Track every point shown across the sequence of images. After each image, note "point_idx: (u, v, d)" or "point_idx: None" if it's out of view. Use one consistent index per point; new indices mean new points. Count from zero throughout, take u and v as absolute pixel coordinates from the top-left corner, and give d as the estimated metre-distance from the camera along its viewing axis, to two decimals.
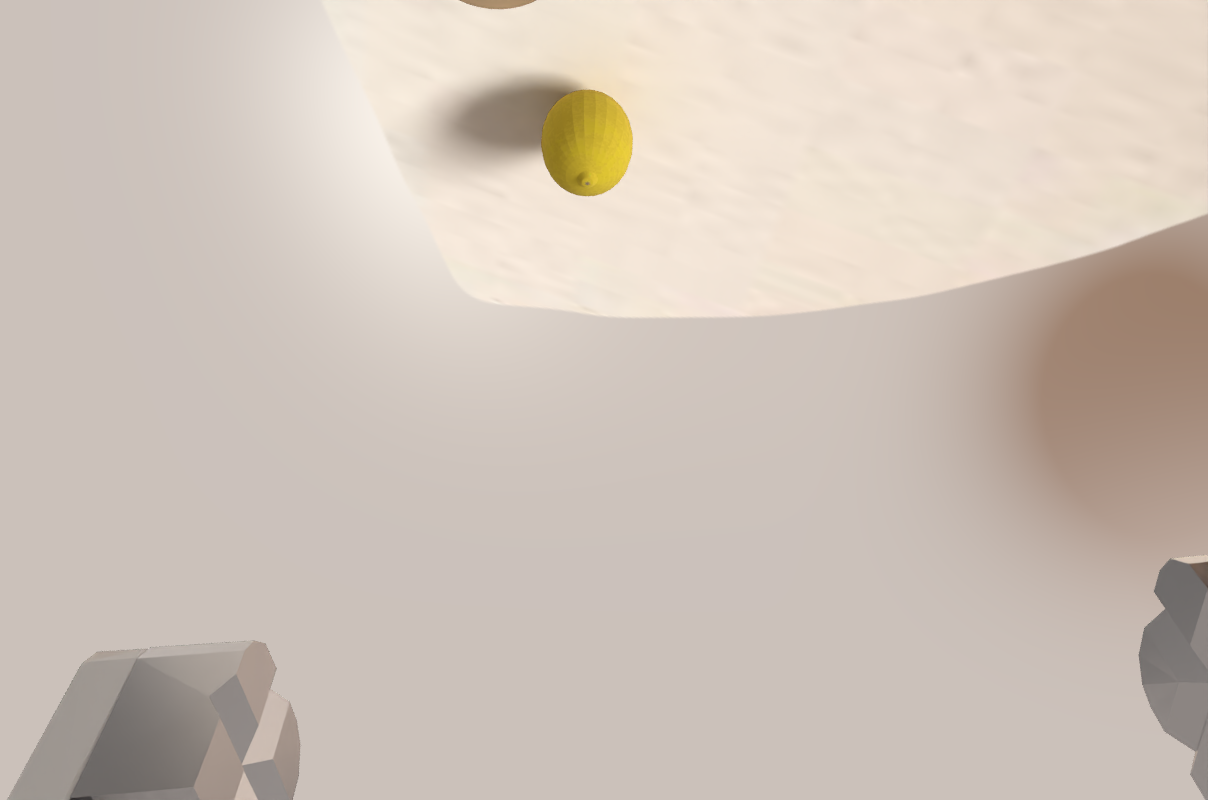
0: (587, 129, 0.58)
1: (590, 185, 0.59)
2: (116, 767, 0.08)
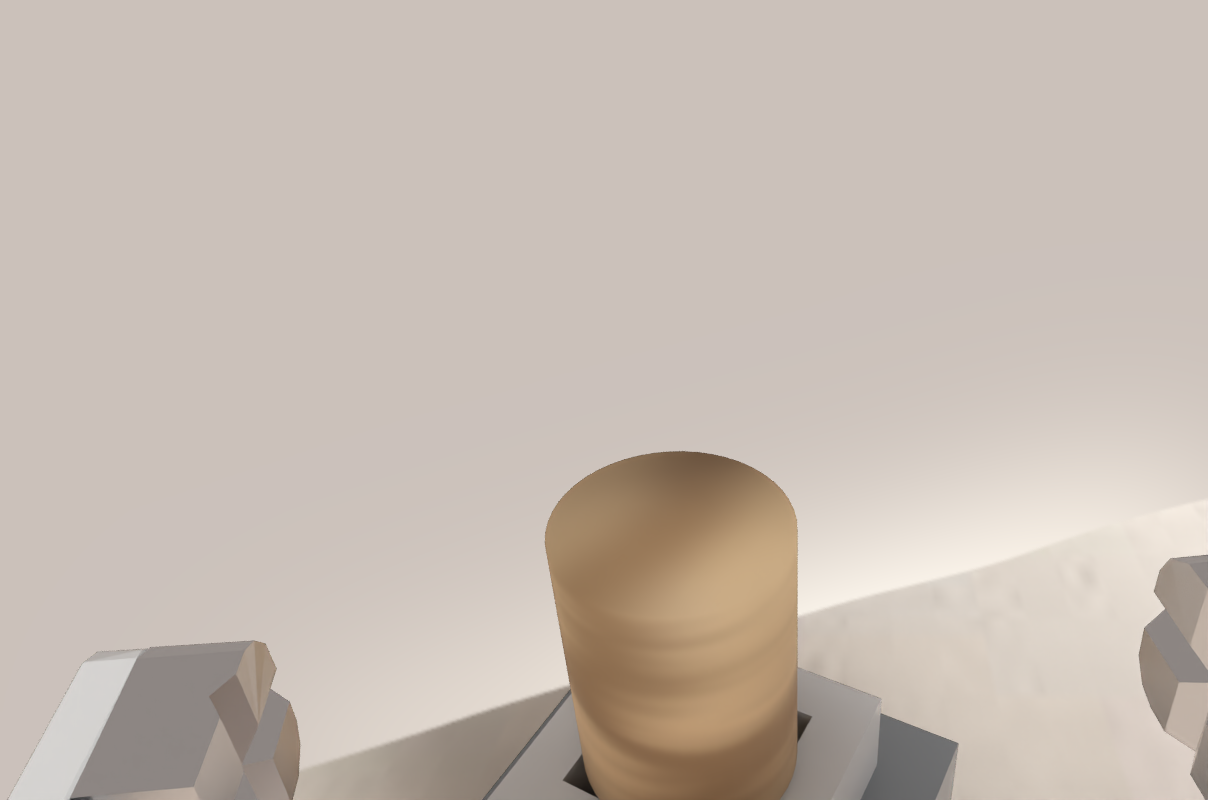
0: None
1: None
2: (117, 767, 0.08)
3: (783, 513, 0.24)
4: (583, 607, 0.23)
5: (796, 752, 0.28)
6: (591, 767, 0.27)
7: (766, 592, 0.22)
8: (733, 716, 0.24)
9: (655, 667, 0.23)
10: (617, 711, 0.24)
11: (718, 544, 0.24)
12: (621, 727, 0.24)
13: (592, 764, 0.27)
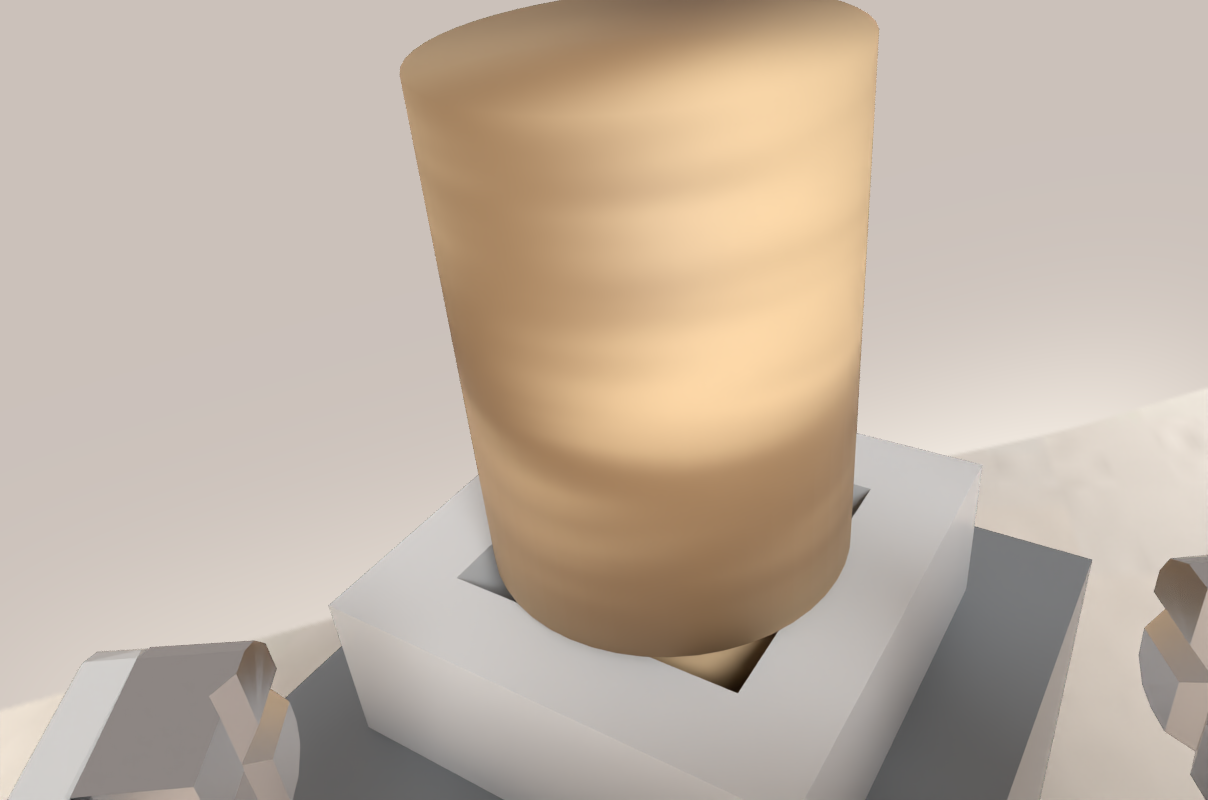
0: None
1: None
2: (117, 767, 0.08)
3: (849, 17, 0.13)
4: (456, 134, 0.11)
5: (850, 527, 0.16)
6: (499, 537, 0.16)
7: (824, 95, 0.11)
8: (749, 387, 0.12)
9: (597, 253, 0.11)
10: (530, 383, 0.13)
11: (727, 47, 0.12)
12: (540, 419, 0.13)
13: (499, 529, 0.15)
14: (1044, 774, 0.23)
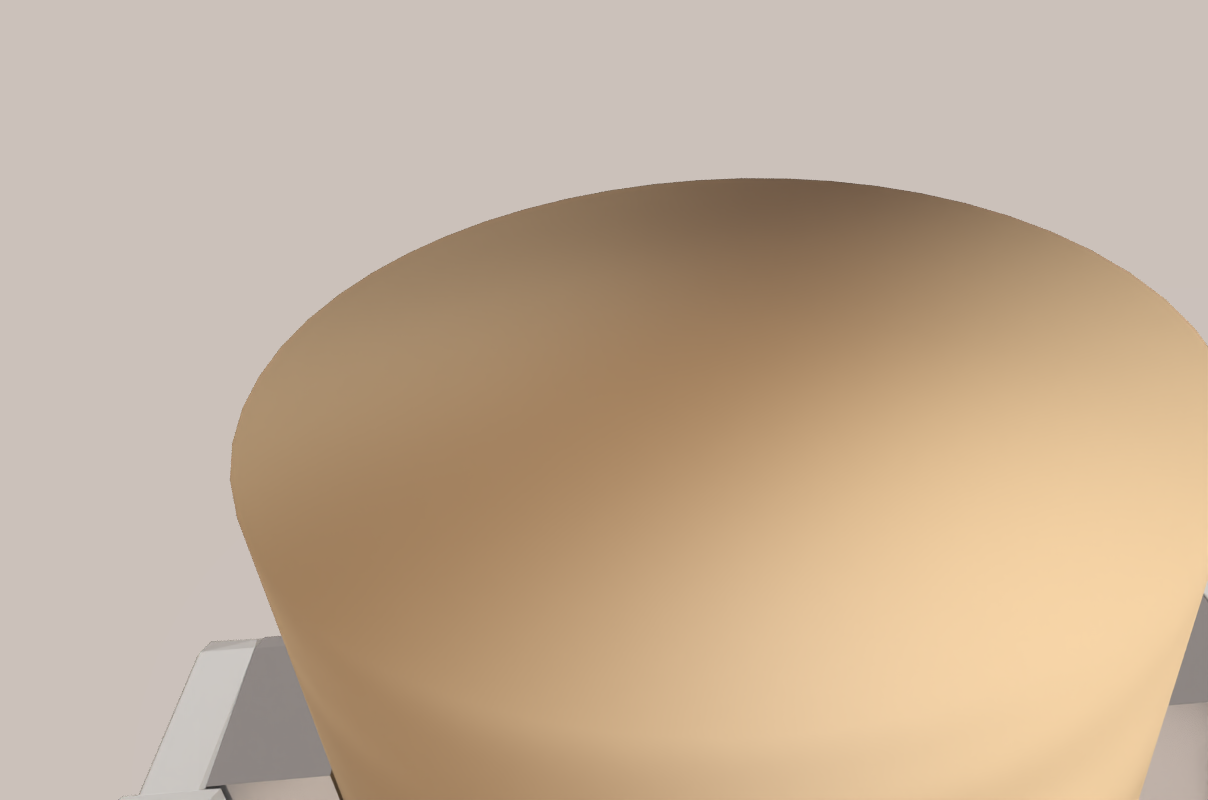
0: None
1: None
2: (249, 756, 0.08)
3: (1131, 310, 0.07)
4: (322, 663, 0.05)
5: None
6: None
7: (1178, 605, 0.05)
8: None
9: None
10: None
11: (907, 406, 0.06)
12: None
13: None
14: None
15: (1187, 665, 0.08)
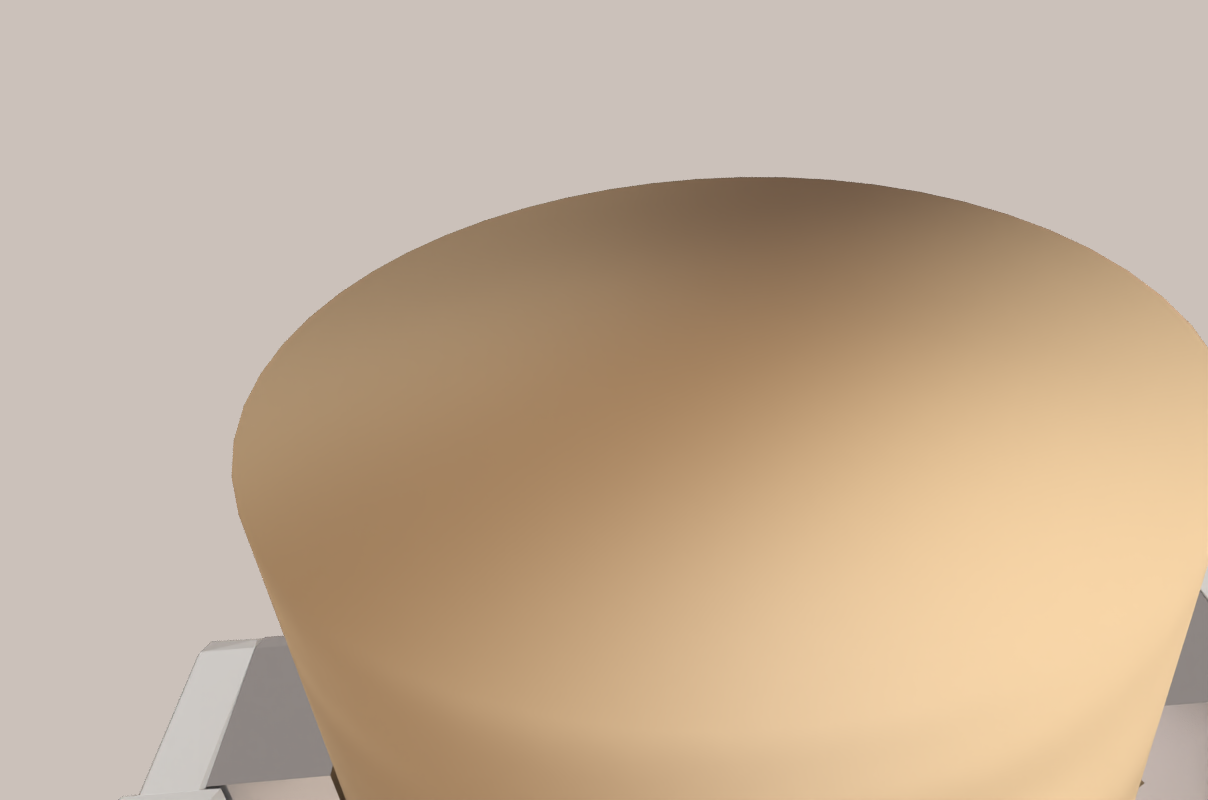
0: None
1: None
2: (250, 757, 0.08)
3: (1128, 308, 0.07)
4: (324, 659, 0.05)
5: None
6: None
7: (1174, 602, 0.05)
8: None
9: None
10: None
11: (904, 403, 0.06)
12: None
13: None
14: None
15: (1187, 665, 0.08)
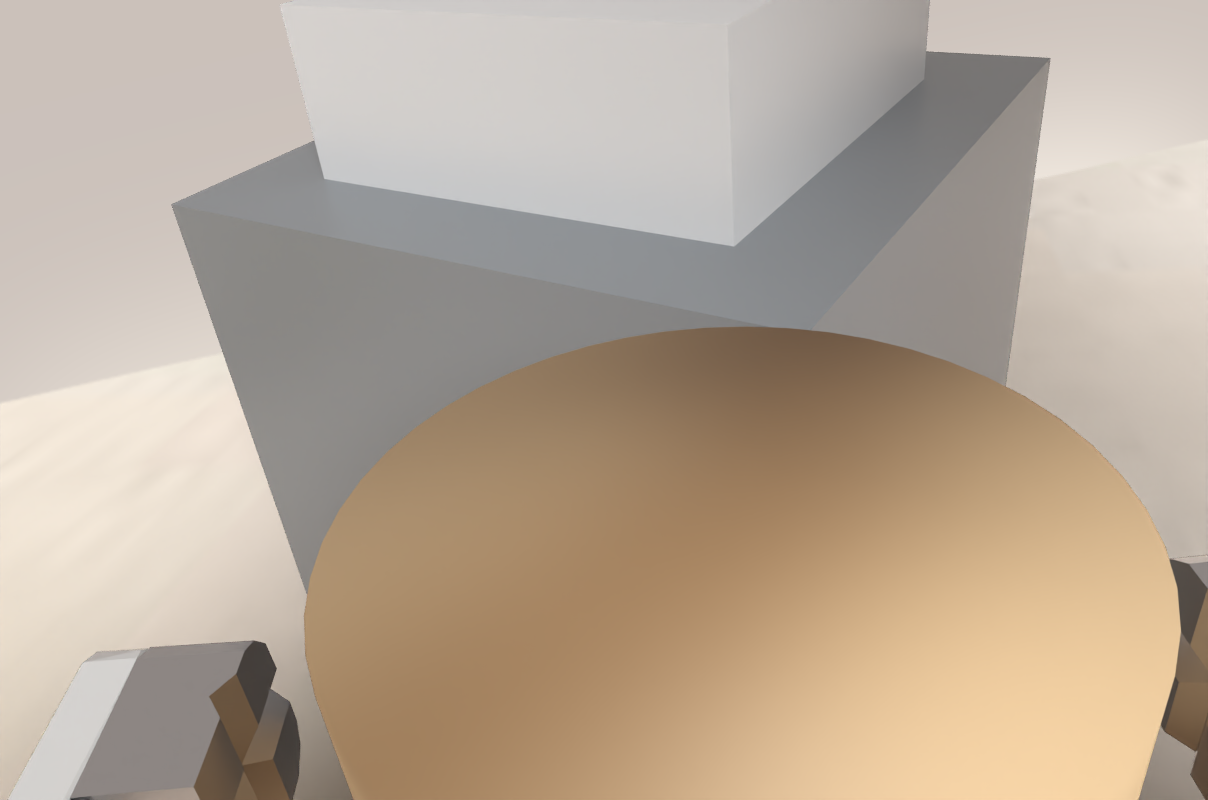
0: None
1: None
2: (117, 767, 0.08)
3: (1092, 489, 0.07)
4: None
5: None
6: None
7: (1119, 794, 0.06)
8: None
9: None
10: None
11: (893, 590, 0.07)
12: None
13: None
14: (1009, 342, 0.23)
15: None
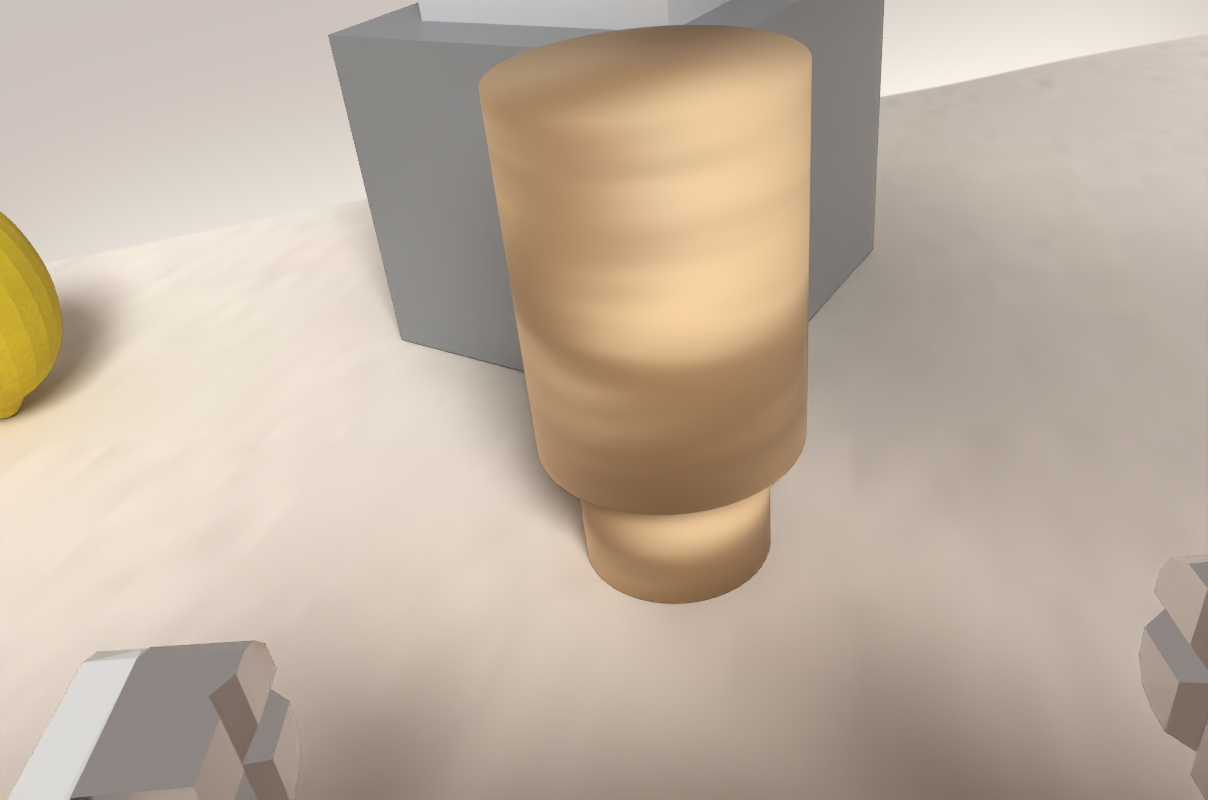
0: (1, 233, 0.30)
1: None
2: (117, 767, 0.08)
3: (793, 50, 0.18)
4: (522, 133, 0.17)
5: (805, 427, 0.22)
6: (543, 432, 0.21)
7: (770, 104, 0.17)
8: (723, 308, 0.18)
9: (618, 212, 0.17)
10: (570, 306, 0.18)
11: (706, 72, 0.18)
12: (576, 334, 0.18)
13: (544, 425, 0.21)
14: (875, 153, 0.34)
15: None
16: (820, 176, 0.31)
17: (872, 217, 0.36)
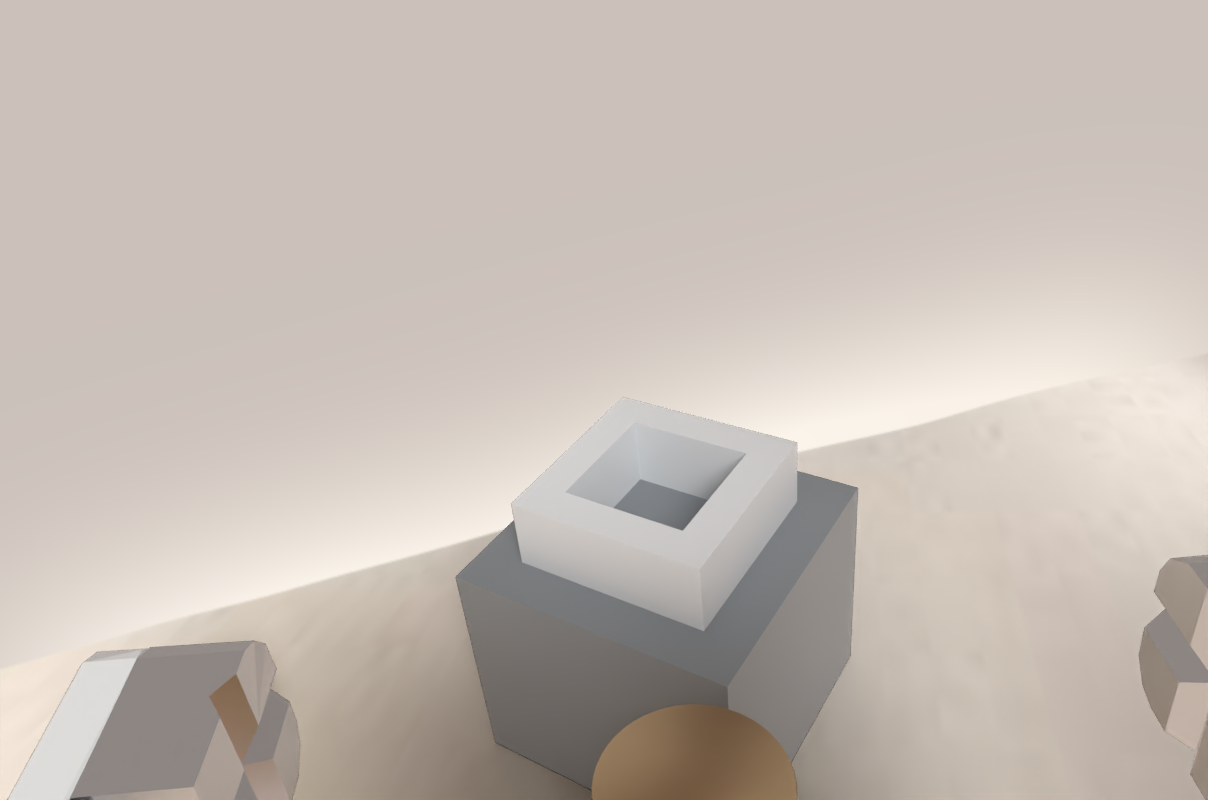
0: None
1: None
2: (117, 767, 0.08)
3: (785, 775, 0.30)
4: None
5: None
6: None
7: None
8: None
9: None
10: None
11: None
12: None
13: None
14: (851, 602, 0.46)
15: None
16: (809, 658, 0.42)
17: (849, 639, 0.47)
